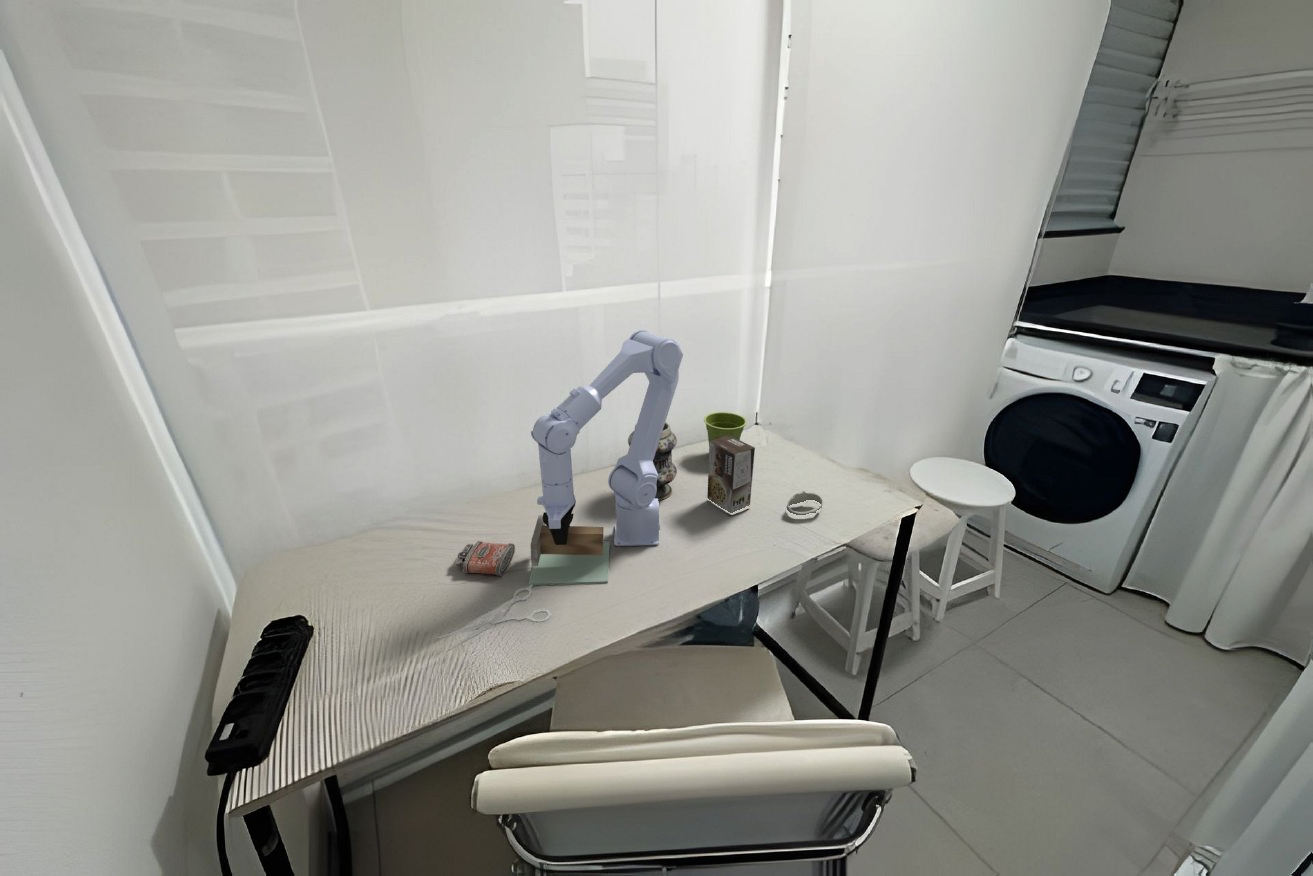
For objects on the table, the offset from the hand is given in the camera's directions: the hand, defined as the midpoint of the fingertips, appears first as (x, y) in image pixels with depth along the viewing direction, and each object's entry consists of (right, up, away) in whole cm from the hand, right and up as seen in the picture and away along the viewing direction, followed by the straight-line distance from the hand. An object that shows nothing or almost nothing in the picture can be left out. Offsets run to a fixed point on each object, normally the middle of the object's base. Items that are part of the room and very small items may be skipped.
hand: (562, 539), depth 104 cm
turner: (+1, -3, +1) cm, 3 cm away
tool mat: (+1, -5, +3) cm, 7 cm away
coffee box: (+36, +4, +24) cm, 43 cm away
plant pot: (+38, +14, +48) cm, 63 cm away
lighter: (-11, -4, +2) cm, 12 cm away
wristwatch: (+53, +2, +21) cm, 57 cm away
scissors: (-10, -13, -11) cm, 19 cm away
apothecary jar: (+17, +6, +30) cm, 35 cm away
